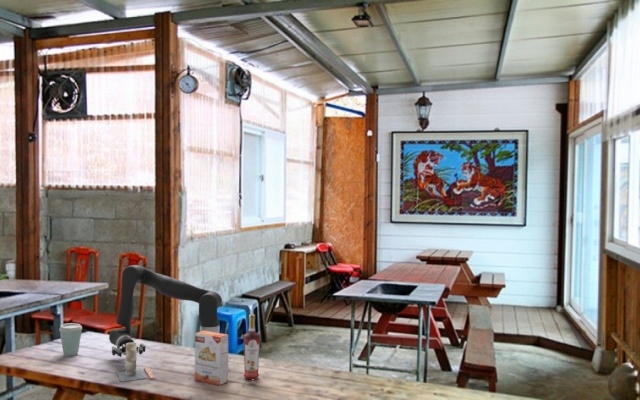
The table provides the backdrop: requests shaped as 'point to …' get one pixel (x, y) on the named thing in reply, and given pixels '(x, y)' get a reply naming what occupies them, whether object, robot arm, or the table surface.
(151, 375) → the orange long flat bar
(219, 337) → the cracker box
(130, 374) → the beige tall cylinder
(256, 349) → the liquor
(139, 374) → the mat
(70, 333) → the disposable coffee cup
